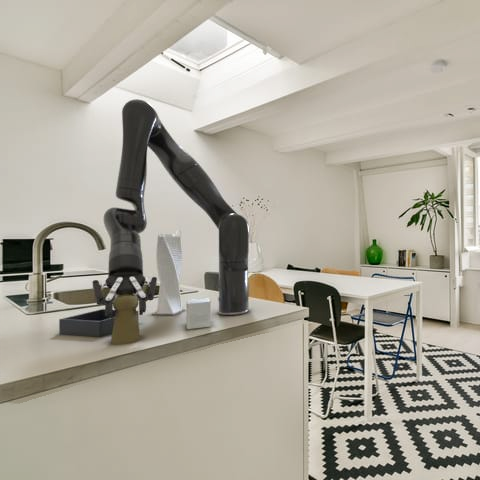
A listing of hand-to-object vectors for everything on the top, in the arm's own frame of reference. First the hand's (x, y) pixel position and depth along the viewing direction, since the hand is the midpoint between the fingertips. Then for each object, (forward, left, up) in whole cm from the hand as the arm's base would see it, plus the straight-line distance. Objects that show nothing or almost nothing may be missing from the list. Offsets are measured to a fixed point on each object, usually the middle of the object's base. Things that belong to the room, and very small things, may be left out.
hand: (126, 314), depth 81 cm
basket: (-8, -16, -7) cm, 19 cm away
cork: (-1, -1, -7) cm, 7 cm away
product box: (-16, +8, -7) cm, 19 cm away
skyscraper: (-28, -11, -7) cm, 31 cm away
